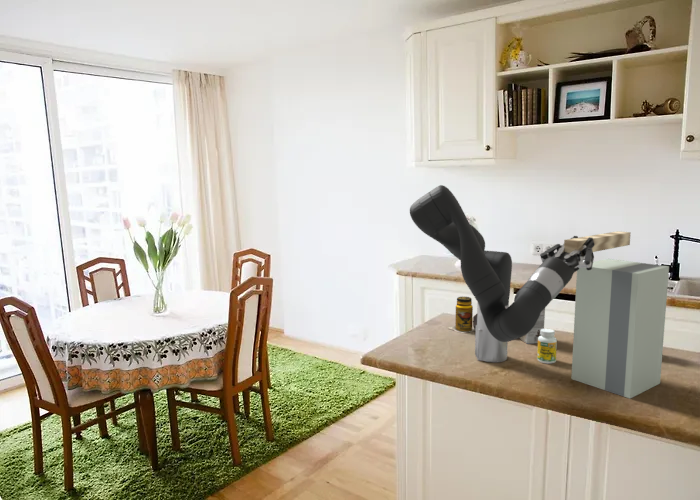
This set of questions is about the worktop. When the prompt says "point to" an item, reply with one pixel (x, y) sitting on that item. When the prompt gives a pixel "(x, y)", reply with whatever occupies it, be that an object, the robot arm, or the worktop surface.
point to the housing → (619, 326)
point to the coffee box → (535, 330)
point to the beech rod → (599, 241)
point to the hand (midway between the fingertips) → (584, 239)
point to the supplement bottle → (547, 346)
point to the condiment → (463, 315)
